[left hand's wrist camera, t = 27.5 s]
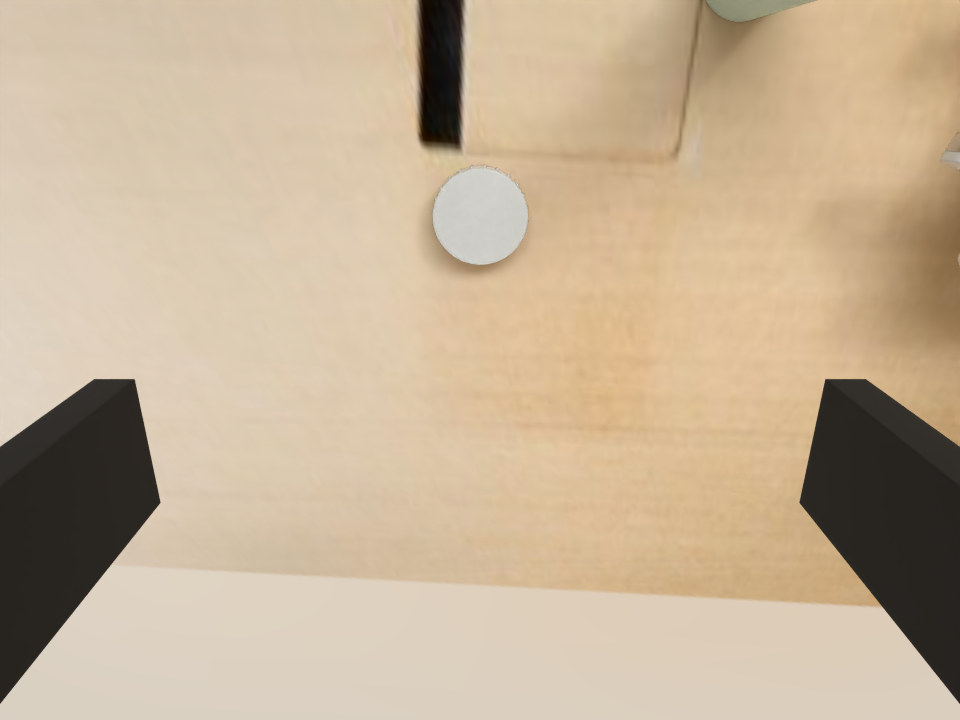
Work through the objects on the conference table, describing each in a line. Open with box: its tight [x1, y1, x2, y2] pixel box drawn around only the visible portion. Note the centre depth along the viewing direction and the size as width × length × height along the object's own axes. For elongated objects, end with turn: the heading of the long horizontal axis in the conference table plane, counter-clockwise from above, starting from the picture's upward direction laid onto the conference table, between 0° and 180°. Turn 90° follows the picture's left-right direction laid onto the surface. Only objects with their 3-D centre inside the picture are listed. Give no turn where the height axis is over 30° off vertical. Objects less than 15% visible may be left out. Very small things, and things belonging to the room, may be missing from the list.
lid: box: [432, 165, 529, 265], centre depth 39 cm, size 6×6×2 cm
